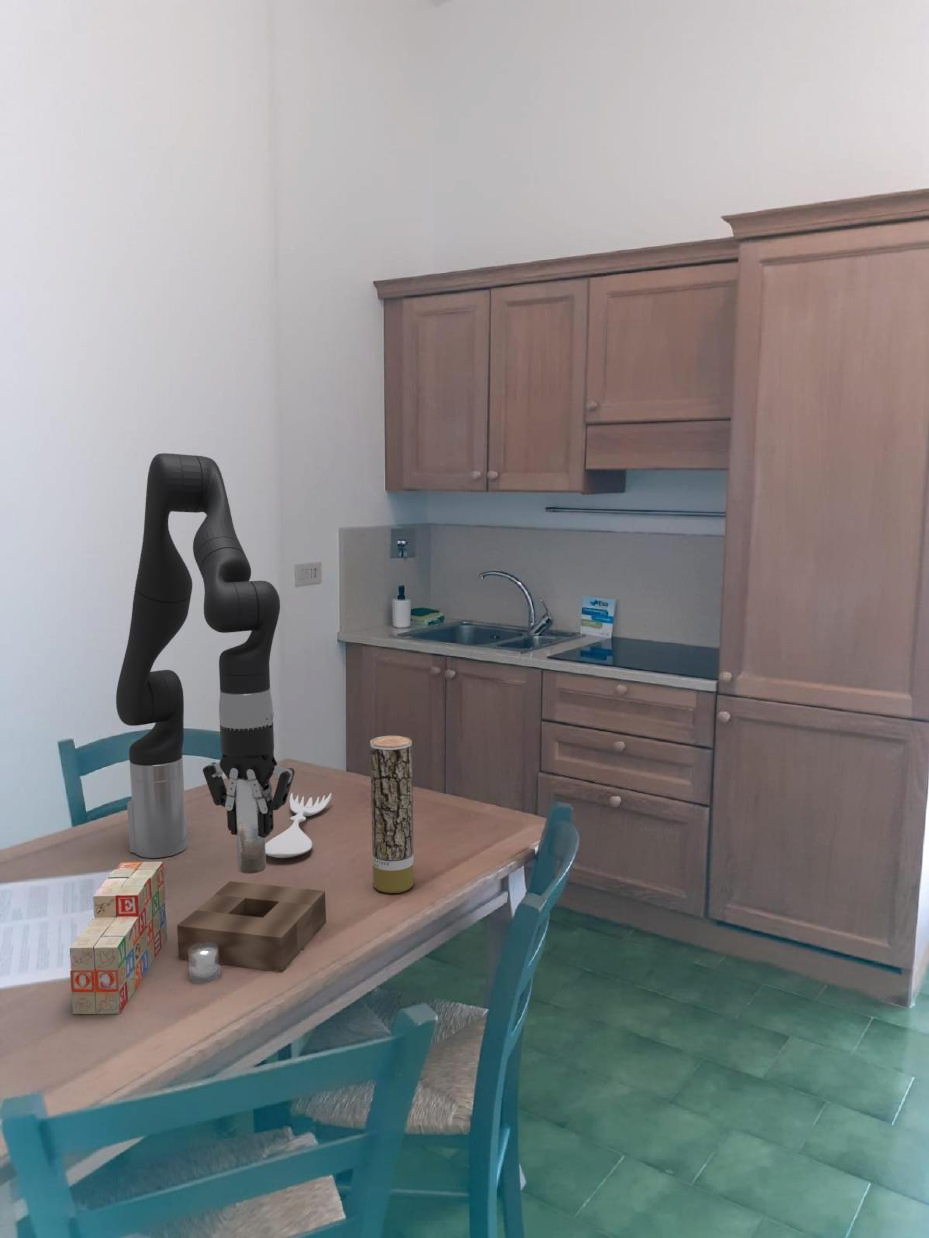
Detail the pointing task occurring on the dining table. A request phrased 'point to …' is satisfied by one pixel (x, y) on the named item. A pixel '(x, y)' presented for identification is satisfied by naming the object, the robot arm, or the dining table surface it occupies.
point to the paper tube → (392, 813)
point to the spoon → (295, 830)
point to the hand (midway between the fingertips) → (251, 833)
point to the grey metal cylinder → (203, 962)
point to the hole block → (255, 924)
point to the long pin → (248, 830)
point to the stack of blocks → (119, 938)
